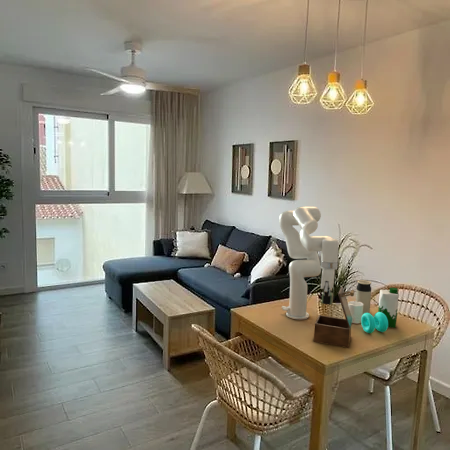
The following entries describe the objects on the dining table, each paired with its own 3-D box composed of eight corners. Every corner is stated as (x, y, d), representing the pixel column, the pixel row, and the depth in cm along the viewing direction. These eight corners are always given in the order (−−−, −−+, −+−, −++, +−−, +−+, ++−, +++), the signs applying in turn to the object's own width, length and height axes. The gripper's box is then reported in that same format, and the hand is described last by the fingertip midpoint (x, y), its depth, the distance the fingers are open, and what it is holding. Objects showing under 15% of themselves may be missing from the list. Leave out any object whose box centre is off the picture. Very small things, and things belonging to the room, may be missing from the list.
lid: (338, 294, 176) (351, 291, 174) (341, 286, 188) (353, 284, 185) (348, 328, 176) (362, 326, 174) (350, 319, 188) (363, 317, 185)
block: (321, 303, 184) (322, 294, 183) (323, 300, 188) (323, 291, 187) (331, 304, 182) (331, 295, 181) (332, 301, 186) (333, 292, 185)
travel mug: (368, 315, 219) (370, 284, 216) (353, 312, 222) (355, 282, 220) (370, 311, 225) (372, 281, 223) (356, 308, 229) (358, 279, 227)
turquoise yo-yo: (388, 335, 192) (390, 316, 190) (370, 336, 190) (371, 317, 188) (376, 327, 202) (378, 309, 200) (359, 328, 199) (360, 310, 198)
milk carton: (397, 328, 200) (400, 291, 197) (379, 327, 202) (381, 290, 199) (393, 322, 209) (396, 286, 206) (376, 321, 210) (378, 285, 208)
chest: (313, 341, 183) (314, 323, 182) (318, 331, 195) (319, 314, 194) (348, 347, 177) (349, 329, 176) (350, 337, 189) (351, 319, 188)
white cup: (344, 318, 213) (345, 301, 212) (358, 318, 214) (359, 301, 212) (350, 324, 205) (351, 306, 204) (364, 324, 206) (366, 305, 205)
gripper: (323, 260, 192) (322, 296, 194) (318, 267, 176) (316, 306, 178) (339, 262, 189) (337, 298, 191) (335, 269, 173) (333, 308, 176)
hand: (327, 301), depth 185 cm, fingers closed on block, 4 cm apart
